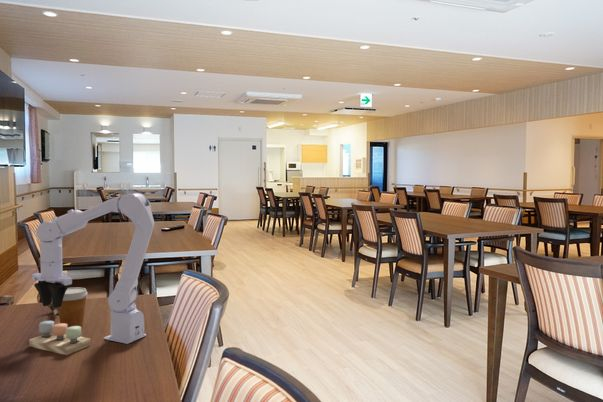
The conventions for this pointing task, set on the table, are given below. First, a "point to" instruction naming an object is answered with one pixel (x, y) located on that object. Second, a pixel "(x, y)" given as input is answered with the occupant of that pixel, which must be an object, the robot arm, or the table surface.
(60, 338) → the peach round knob
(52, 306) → the eagle figurine
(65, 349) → the button board
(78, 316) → the disposable coffee cup
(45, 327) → the slate button
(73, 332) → the sage button
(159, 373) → the table surface
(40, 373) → the table surface
